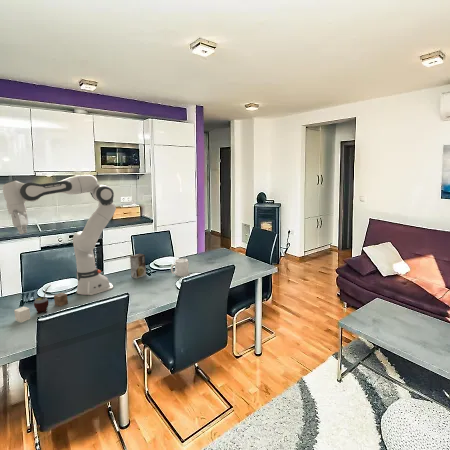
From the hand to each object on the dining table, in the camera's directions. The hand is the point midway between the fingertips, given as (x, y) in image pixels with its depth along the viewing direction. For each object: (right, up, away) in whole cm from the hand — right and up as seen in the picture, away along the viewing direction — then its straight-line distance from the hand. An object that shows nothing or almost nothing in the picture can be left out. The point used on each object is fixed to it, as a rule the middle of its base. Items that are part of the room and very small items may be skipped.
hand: (23, 233), depth 182 cm
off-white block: (+7, -46, -11) cm, 48 cm away
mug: (+82, -33, +58) cm, 105 cm away
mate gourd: (+12, -44, -2) cm, 46 cm away
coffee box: (+51, -33, +55) cm, 82 cm away
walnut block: (+18, -42, +8) cm, 47 cm away
